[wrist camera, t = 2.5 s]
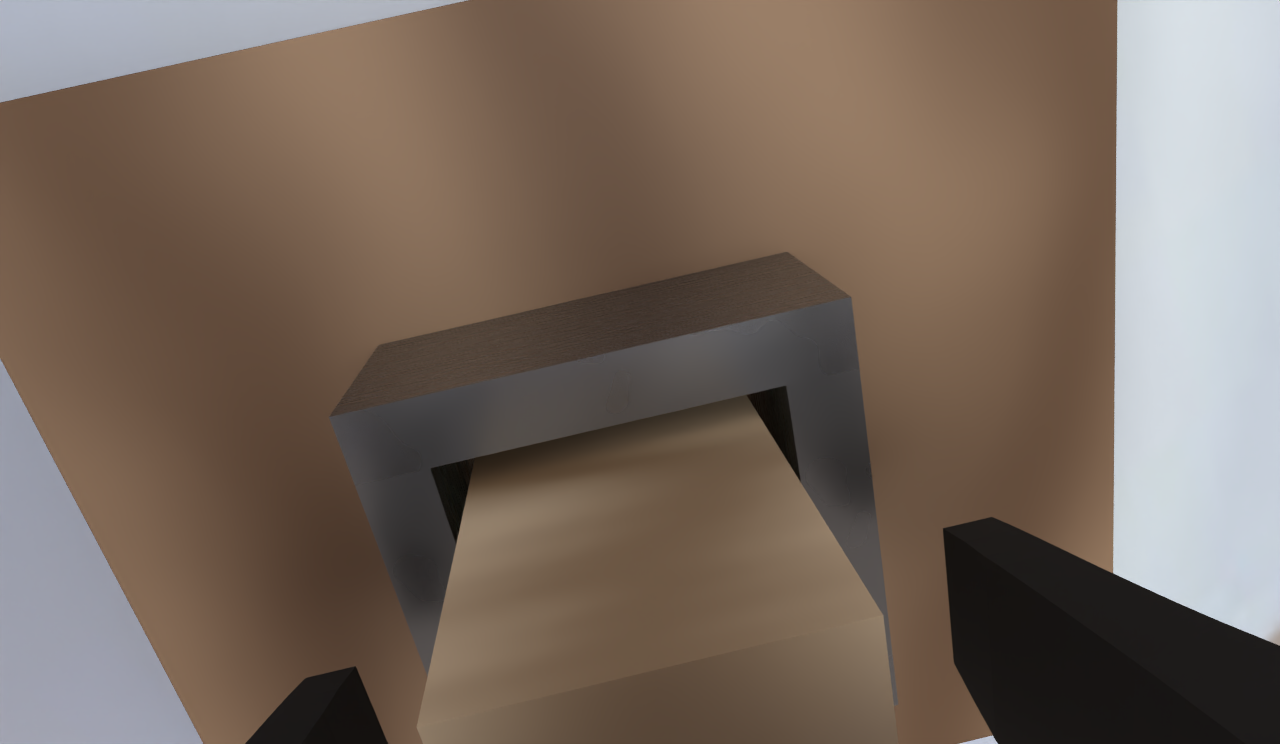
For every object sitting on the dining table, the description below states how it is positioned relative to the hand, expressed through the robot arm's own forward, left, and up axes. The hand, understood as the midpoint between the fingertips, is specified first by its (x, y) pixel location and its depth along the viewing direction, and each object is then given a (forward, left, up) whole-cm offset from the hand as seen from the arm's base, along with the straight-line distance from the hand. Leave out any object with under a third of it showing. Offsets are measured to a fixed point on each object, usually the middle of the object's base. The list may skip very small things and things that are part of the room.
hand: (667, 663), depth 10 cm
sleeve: (0, 0, -5) cm, 5 cm away
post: (0, 0, -5) cm, 5 cm away
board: (0, 0, -6) cm, 6 cm away
